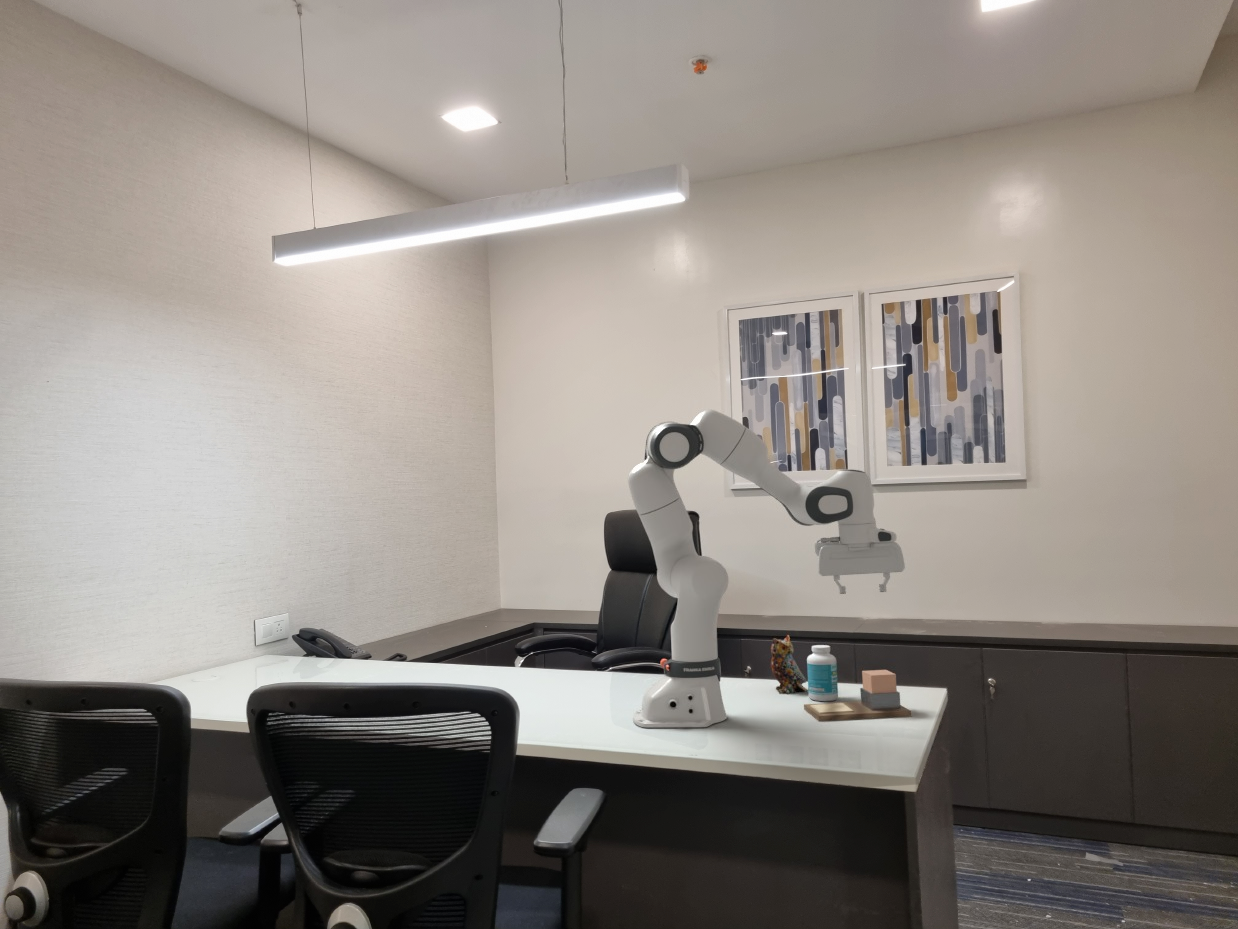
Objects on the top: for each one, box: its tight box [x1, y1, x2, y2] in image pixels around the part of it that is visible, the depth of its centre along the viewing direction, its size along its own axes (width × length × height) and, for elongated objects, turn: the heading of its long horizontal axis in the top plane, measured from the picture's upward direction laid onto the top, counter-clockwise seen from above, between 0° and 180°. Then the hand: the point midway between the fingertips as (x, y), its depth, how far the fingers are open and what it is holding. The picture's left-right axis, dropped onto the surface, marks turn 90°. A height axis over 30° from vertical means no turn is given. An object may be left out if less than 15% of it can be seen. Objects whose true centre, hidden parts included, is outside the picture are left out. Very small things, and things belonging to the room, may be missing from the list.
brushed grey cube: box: [859, 687, 901, 710], centre depth 200 cm, size 7×7×6 cm
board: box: [803, 700, 912, 722], centre depth 199 cm, size 22×12×2 cm, turn 94°
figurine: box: [770, 634, 808, 695], centre depth 226 cm, size 9×9×15 cm
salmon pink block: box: [861, 669, 897, 694], centre depth 200 cm, size 6×6×4 cm
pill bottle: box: [806, 644, 839, 702], centre depth 215 cm, size 8×7×14 cm
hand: (862, 592), depth 201 cm, fingers open, 8 cm apart
